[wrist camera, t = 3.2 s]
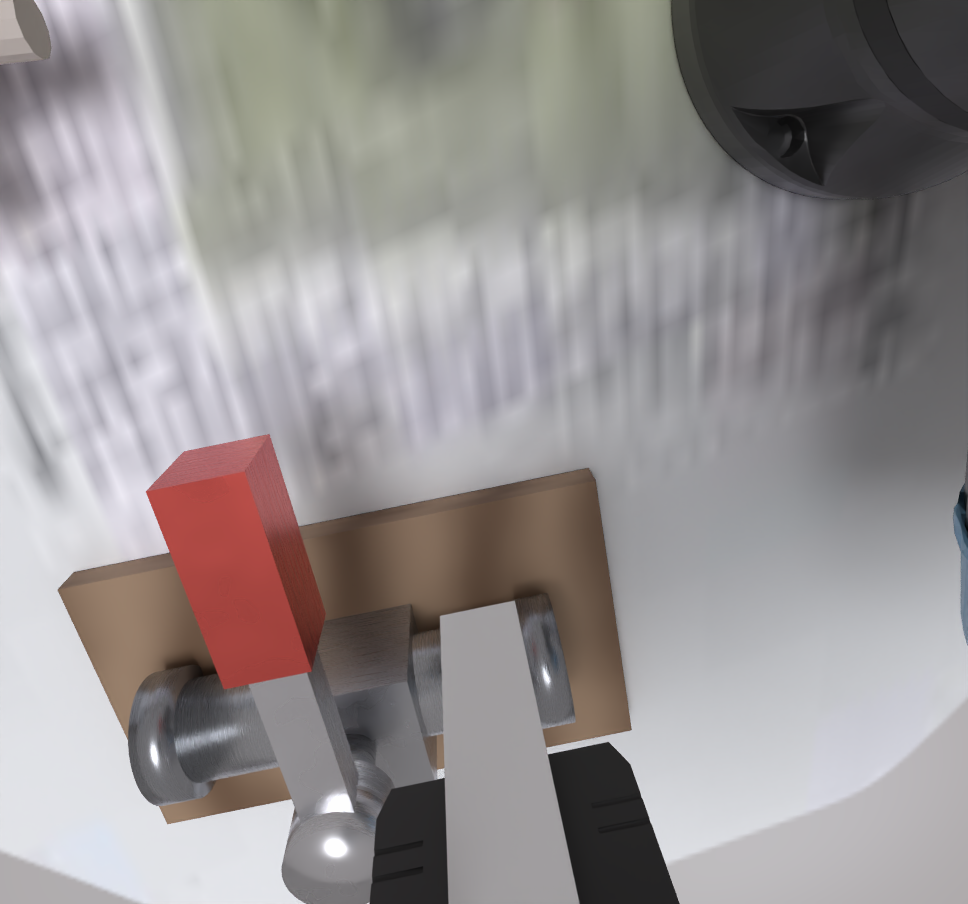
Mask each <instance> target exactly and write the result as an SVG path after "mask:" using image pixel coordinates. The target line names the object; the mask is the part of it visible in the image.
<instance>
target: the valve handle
mask: <svg viewBox="0 0 968 904" xmlns="http://www.w3.org/2000/svg"><path fill="white" fill-rule="evenodd" d="M146 493H147V496H148V498H149V501H150V503H151V506H152V508H153V511H154V513H155V516H156V519H157V521H158V524H159V526H160V529H161V531H162V534H163V536H164V539H165V541H166V544H167V546H168V549H169V551H170V554H171V557H172V559H173V562H174V564H175V567H176V569H177V572H178V574H179V577H180V579H181V582H182V584H183V587H184V589H185V592H186V595H187V597H188V600H189V602H190V605H191V607H192V610H193V612H194V615H195V617H196V620H197V622H198V625H199V627H200V630H201V633H202V635H203V638H204V640H205V643H206V645H207V648H208V650H209V653H210V655H211V658H212V660H213V663H214V665H215V668H216V671H217V673H218V676H219V678H220V681H221V683H222V686H223V688H224V689H229V688H234V687H238V686H243V685H249V687H250V690H251V693H252V695H253V698H254V701H255V703H256V706H257V709H258V711H259V714H260V716H261V719H262V722H263V724H264V727H265V730H266V732H267V735H268V738H269V740H270V743H271V746H272V748H273V751H274V753H275V756H276V759H277V761H278V764H279V767H280V769H281V772H282V775H283V777H284V780H285V783H286V785H287V788H288V790H289V793H290V796H291V798H292V801H293V804H294V806H295V809H294V814H293V818H292V823H291V827H290V832H289V836H288V841H287V845H286V850H285V854H284V859H283V863H282V878H283V881H284V883H285V885H286V887H287V888H288V890H289V891H290V892H291V893H292V894H293V895H294V896H295V897H296V898H298V899H299V900H301V901H302V902H304V903H306V904H367V903H369V902H370V892H371V884H372V867H373V857H374V842H375V830H376V819H377V817H378V815H379V813H380V811H381V809H382V807H383V805H384V803H385V801H386V799H387V797H388V795H389V793H390V791H391V789H394V788H395V786H394V784H393V782H392V780H391V779H390V777H389V776H388V775H387V774H386V773H385V772H384V771H383V770H381V769H380V768H378V767H376V766H375V765H373V764H370V763H368V762H364V761H360V760H354V759H353V756H352V752H351V749H350V746H349V743H348V740H347V737H346V734H345V731H344V728H343V725H342V722H341V719H340V716H339V713H338V710H337V707H336V704H335V701H334V698H333V695H332V692H331V689H330V685H329V682H328V679H327V676H326V673H325V670H324V667H323V664H322V661H321V658H320V655H319V652H318V649H317V648H318V644H319V640H320V636H321V632H322V628H323V624H324V620H325V616H326V612H325V609H324V606H323V603H322V599H321V596H320V593H319V590H318V587H317V584H316V580H315V577H314V574H313V571H312V568H311V565H310V561H309V558H308V555H307V552H306V549H305V546H304V542H303V539H302V536H301V533H300V530H299V527H298V523H297V520H296V517H295V514H294V511H293V508H292V505H291V501H290V498H289V495H288V492H287V489H286V486H285V482H284V479H283V476H282V473H281V470H280V467H279V463H278V460H277V457H276V454H275V451H274V448H273V444H272V441H271V438H270V435H269V434H268V435H263V436H258V437H253V438H248V439H243V440H238V441H233V442H229V443H224V444H219V445H214V446H209V447H204V448H199V449H194V450H189V451H184V452H183V453H182V454H181V455H180V456H179V457H178V458H177V459H176V460H175V461H174V462H173V463H172V465H171V466H170V467H169V468H168V469H167V470H166V471H165V472H164V473H163V474H162V475H161V476H160V477H159V478H158V479H157V480H156V481H155V482H154V484H153V485H152V486H151V487H150V488H149V489H148V490H147V491H146Z"/></svg>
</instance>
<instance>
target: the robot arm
mask: <svg viewBox="0 0 968 904" xmlns="http://www.w3.org/2000/svg"><path fill="white" fill-rule="evenodd" d="M672 21H673V31H674V39H675V45H676V50H677V56H678V60H679V64H680V68H681V72H682V75H683V78H684V81H685V84H686V87H687V89H688V92H689V94H690V96H691V99H692V101H693V103H694V105H695V107H696V109H697V111H698V113H699V115H700V117H701V118H702V120H703V121H704V123H705V125H706V126H707V128H708V129H709V131H710V132H711V133H712V135H713V136H714V138H715V139H716V140H717V141H718V142H719V144H720V145H721V146H722V147H723V148H724V149H725V151H726V152H728V153H729V154H730V155H731V156H732V157H733V158H734V159H735V160H736V161H737V162H738V163H739V164H741V165H742V166H743V167H744V168H746V169H747V170H748V171H750V172H751V173H753V174H754V175H756V176H757V177H759V178H761V179H763V180H764V181H766V182H768V183H770V184H772V185H774V186H777V187H779V188H781V189H784V190H787V191H790V192H793V193H797V194H801V195H805V196H810V197H816V198H827V199H878V198H887V197H893V196H899V195H903V194H907V193H912V192H916V191H919V190H923V189H926V188H929V187H932V186H935V185H938V184H940V183H942V182H945V181H947V180H950V179H952V178H954V177H956V176H958V175H960V174H962V173H964V172H966V171H968V0H672ZM953 522H954V532H955V536H956V539H957V541H958V544H959V547H960V550H961V618H962V625H963V631H964V635H965V639H966V642H967V645H968V454H967V466H966V478H965V484H964V485H963V487H962V489H961V491H960V494H959V499H958V503H957V505H956V506H955V508H954V515H953ZM440 634H441V667H442V701H443V734H444V768H445V778H442V779H437V780H433V781H428V782H423V783H418V784H413V785H408V786H403V787H399V788H394V789H391V791H390V793H389V795H388V797H387V799H386V801H385V803H384V805H383V807H382V809H381V811H380V813H379V815H378V817H377V819H376V830H375V842H374V857H373V867H372V884H371V892H370V904H679V901H678V898H677V895H676V893H675V889H674V887H673V884H672V881H671V879H670V875H669V873H668V870H667V867H666V864H665V861H664V858H663V856H662V853H661V850H660V847H659V844H658V841H657V839H656V836H655V833H654V830H653V827H652V825H651V823H650V820H649V816H648V813H647V810H646V808H645V805H644V802H643V799H642V798H641V794H640V791H639V788H638V785H637V782H636V779H635V777H634V774H633V771H632V768H631V765H630V764H629V762H628V761H627V760H626V759H625V758H624V757H623V756H622V755H621V754H620V753H619V752H618V751H617V750H616V749H615V748H614V747H613V746H612V745H611V744H610V743H609V742H606V743H601V744H597V745H592V746H587V747H582V748H577V749H572V750H568V751H563V752H558V753H553V754H547V749H546V745H545V740H544V735H543V731H542V726H541V721H540V717H539V712H538V707H537V702H536V698H535V693H534V688H533V684H532V679H531V674H530V670H529V665H528V660H527V656H526V651H525V646H524V642H523V637H522V632H521V628H520V623H519V618H518V614H517V609H516V604H515V601H510V602H505V603H500V604H496V605H491V606H486V607H481V608H476V609H471V610H466V611H462V612H457V613H452V614H447V615H442V616H440Z"/></svg>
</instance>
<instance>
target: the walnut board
mask: <svg viewBox="0 0 968 904" xmlns="http://www.w3.org/2000/svg"><path fill="white" fill-rule="evenodd" d="M299 530H300V533H301V536H302V539H303V542H304V546H305V549H306V552H307V555H308V558H309V561H310V565H311V568H312V571H313V574H314V577H315V580H316V584H317V587H318V590H319V593H320V596H321V599H322V603H323V606H324V609H325V612H326V616H325V620H324V621H326V620H331V619H336V618H341V617H346V616H351V615H356V614H361V613H366V612H371V611H376V610H381V609H386V608H390V607H395V606H400V605H405V604H410V603H411V606H412V610H413V614H414V618H415V622H416V625H417V629H418V633H420V632H425V631H430V630H435V629H440V616H442V615H447V614H452V613H457V612H462V611H466V610H471V609H476V608H481V607H486V606H491V605H496V604H500V603H505V602H510V601H513V600H514V599H519V598H524V597H529V596H534V595H539V594H544V593H548V595H549V598H550V601H551V604H552V608H553V612H554V616H555V620H556V624H557V628H558V632H559V636H560V640H561V645H562V649H563V654H564V658H565V663H566V668H567V673H568V678H569V683H570V688H571V693H572V699H573V704H574V711H575V719H576V722H575V723H570V724H565V725H560V726H555V727H550V728H545V729H542V731H543V735H544V740H545V745H546V747H551V746H556V745H561V744H566V743H571V742H576V741H581V740H586V739H590V738H595V737H600V736H605V735H610V734H615V733H620V732H625V731H630V730H632V729H631V722H630V715H629V708H628V701H627V694H626V687H625V681H624V674H623V667H622V660H621V653H620V646H619V639H618V632H617V625H616V618H615V611H614V604H613V597H612V590H611V584H610V577H609V570H608V563H607V556H606V549H605V542H604V535H603V528H602V521H601V514H600V507H599V500H598V493H597V487H596V480H595V479H594V477H593V475H592V473H591V472H590V470H589V468H587V469H582V470H577V471H572V472H567V473H562V474H557V475H552V476H547V477H542V478H537V479H532V480H527V481H522V482H517V483H513V484H508V485H503V486H498V487H493V488H488V489H483V490H478V491H473V492H468V493H463V494H458V495H453V496H448V497H443V498H439V499H434V500H429V501H424V502H419V503H414V504H409V505H404V506H399V507H394V508H389V509H384V510H379V511H374V512H369V513H365V514H360V515H355V516H350V517H345V518H340V519H335V520H330V521H325V522H320V523H315V524H310V525H305V526H300V527H299ZM58 592H59V594H60V596H61V598H62V600H63V603H64V605H65V607H66V609H67V611H68V613H69V615H70V618H71V620H72V622H73V624H74V626H75V628H76V630H77V632H78V635H79V637H80V639H81V641H82V643H83V645H84V647H85V649H86V652H87V654H88V656H89V658H90V660H91V662H92V664H93V667H94V669H95V671H96V673H97V675H98V677H99V679H100V681H101V684H102V686H103V688H104V690H105V692H106V694H107V696H108V698H109V701H110V703H111V705H112V707H113V709H114V711H115V713H116V716H117V718H118V720H119V722H120V724H121V726H122V728H123V730H124V733H125V735H126V737H127V739H128V728H129V718H130V712H131V707H132V704H133V700H134V697H135V695H136V692H137V690H138V688H139V686H140V685H141V683H142V682H143V681H144V679H145V678H146V677H147V676H149V675H150V674H152V673H154V672H159V671H164V670H169V669H173V668H178V667H183V666H188V665H198V666H200V668H201V670H202V673H203V675H204V676H208V675H213V674H218V673H217V671H216V668H215V665H214V663H213V660H212V658H211V655H210V653H209V650H208V648H207V645H206V643H205V640H204V638H203V635H202V633H201V630H200V627H199V625H198V622H197V620H196V617H195V615H194V612H193V610H192V607H191V605H190V602H189V600H188V597H187V595H186V592H185V589H184V587H183V584H182V582H181V579H180V577H179V574H178V572H177V569H176V567H175V564H174V562H173V559H172V557H171V554H170V553H167V554H162V555H157V556H152V557H147V558H142V559H138V560H133V561H128V562H123V563H118V564H113V565H108V566H103V567H98V568H93V569H88V570H83V571H78V572H74V573H73V574H72V575H71V576H70V577H69V578H68V579H67V580H66V581H65V582H64V583H63V584H62V585H61V587H60V588H59V589H58ZM442 768H444V734H440V735H437V769H442ZM289 799H292V798H291V796H290V793H289V790H288V788H287V785H286V783H285V780H284V777H283V775H282V772H281V769H280V767H277V768H272V769H267V770H262V771H257V772H252V773H247V774H242V775H238V776H233V777H228V778H223V779H218V780H216V783H215V785H214V787H213V788H212V790H211V791H210V792H209V793H208V794H207V795H206V796H205V797H203V798H199V799H195V800H190V801H185V802H180V803H175V804H170V805H165V806H159V807H160V809H161V811H162V814H163V816H164V818H165V820H166V822H167V824H171V823H176V822H181V821H186V820H191V819H196V818H201V817H205V816H210V815H215V814H220V813H225V812H230V811H235V810H240V809H245V808H250V807H255V806H260V805H265V804H270V803H275V802H279V801H284V800H289Z"/></svg>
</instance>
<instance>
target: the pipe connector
mask: <svg viewBox="0 0 968 904" xmlns="http://www.w3.org/2000/svg"><path fill="white" fill-rule="evenodd" d="M50 53H51V42H50V37H49V31H48V29H47V26H46V23H45V21H44V18H43V16H42V13H41V12H40V10H39V8H38V7H37V5H36V3H35V2H34V0H0V65H1V64H11V63H20V62H29V61H39V60H45V59H48V58H50Z"/></svg>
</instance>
